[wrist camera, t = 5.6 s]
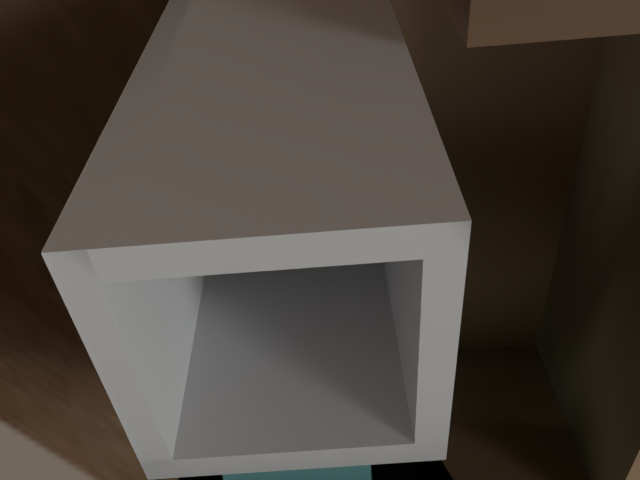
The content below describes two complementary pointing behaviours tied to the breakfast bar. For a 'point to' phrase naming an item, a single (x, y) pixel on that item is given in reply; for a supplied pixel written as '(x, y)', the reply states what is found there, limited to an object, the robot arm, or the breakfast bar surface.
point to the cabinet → (541, 229)
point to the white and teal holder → (270, 246)
